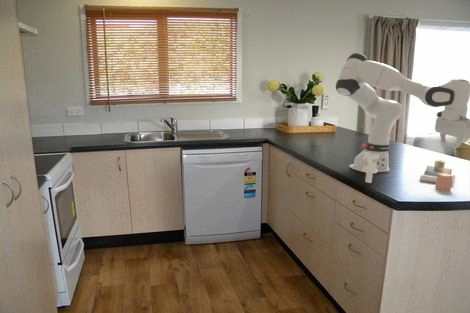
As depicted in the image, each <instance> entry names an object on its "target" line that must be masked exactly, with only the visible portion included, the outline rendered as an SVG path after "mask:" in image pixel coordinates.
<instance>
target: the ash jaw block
mask: <svg viewBox="0 0 470 313" xmlns="http://www.w3.org/2000/svg"><path fill="white" fill-rule="evenodd" d="M445 163H446V160H442V159H435V161H434V165H433V166H434V171H436V172H443V171H444V168H445V165H446V164H445Z"/></svg>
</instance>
